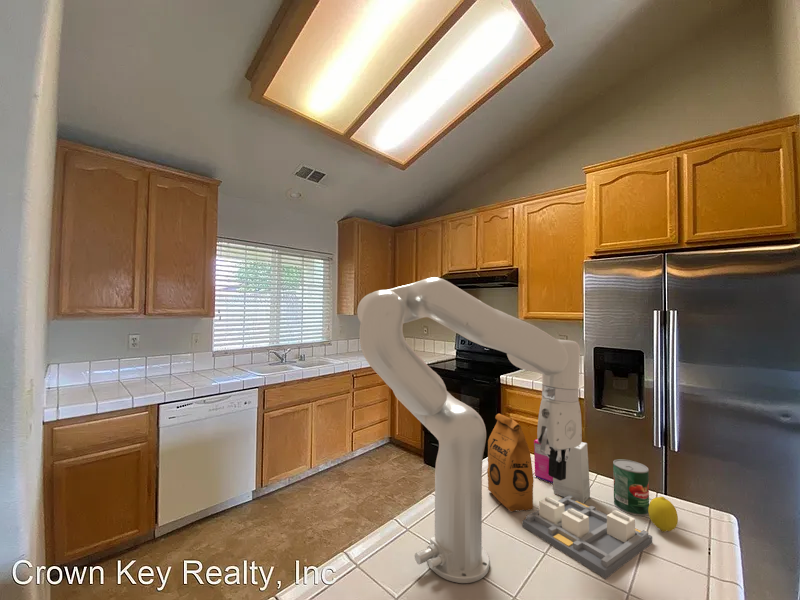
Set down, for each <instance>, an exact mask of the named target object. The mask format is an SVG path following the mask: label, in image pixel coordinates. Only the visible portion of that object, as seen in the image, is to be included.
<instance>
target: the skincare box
mask: <svg viewBox="0 0 800 600" xmlns="http://www.w3.org/2000/svg"><path fill="white" fill-rule="evenodd" d="M553 450H554V449H553ZM588 450H589V449H588V443H587V442H583V441H582V442H581V444H580V445H579V446H577V447H574V448H573V449H571V450H570V451H569V454H568V460H567V461H566V479H564V480H561V481H560V480H558V479H556V478H553V483H552V486H553V490H552V491H553V494H555V495H557V496H560V497H563V498H565V497H567V496H569V495H570V496H572V497H573V499H575V500H577V501H579V502H581V503H583V504H585V502H586V501H588V500H589V499H590V497H591V491H590V490H591V487H590V486H591V484H590V472H589V471H590V469H589V467H590V466H589V454H588V453H589V452H588Z"/></svg>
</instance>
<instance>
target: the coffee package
mask: <svg viewBox="0 0 800 600" xmlns="http://www.w3.org/2000/svg"><path fill="white" fill-rule="evenodd" d="M494 418H495V420H496V423H495V425H494V426H493V427H494V428H493V429H492V431H491V433H490V434H489V437H488V440H487V470H486V473H487V488H488V489H487V490H488V491H489V492H490V493H491V494H492V495H493V496H494V497H495V498H496V499H497V501H498V502H499V503H500V504H501V505H503V506H504V507H505V508H506V509H507V510H508V511H509V512H511V513H513V512H521V511H525V512H526V511H528V512H529V511H530V510H531V511H532V510H533V509H534V474H533V466H532V464H533V463H532V457H531V455H532V454H531V451H530V448H529V445H528V443H527V440H526V436H525V434H524V432H523V429H522V427H521V424H520V423H518V422H517V421H516V420H514V418H511V417H508V416H506V415H504V414H501V413H497V414H496V415H495V417H494Z"/></svg>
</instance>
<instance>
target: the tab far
mask: <svg viewBox="0 0 800 600" xmlns="http://www.w3.org/2000/svg"><path fill="white" fill-rule="evenodd" d="M558 501H559V500H556V499H554V498H552V497H550V496H546V497H544V499H542V500H540V501H539V502H538V503H539V504H538V505H539V506H538V507H539V508H538V510H539V516H541V517H543V518H545V519H547V520H548V521H550V522H552V523H554V524H557V523H559V522H561V521H562V513H563V512H565V505H564V504H562V503H560V502H558Z"/></svg>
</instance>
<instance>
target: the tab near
mask: <svg viewBox="0 0 800 600" xmlns="http://www.w3.org/2000/svg"><path fill="white" fill-rule="evenodd" d="M606 515H607V534H609V535H611V536H613V537H615V538H616V539H618V540H620V541H622V542H624V543H625V542H627V541H628V540H630V539H631V538H632V537H634V536H635V528H636V519H635V517H632V516H629V515H627V514H625V513H624V512H620V511H618V510H616V509H615V510H612V511H611V512H610V513H609V514H608V513H607V514H606Z"/></svg>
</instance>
